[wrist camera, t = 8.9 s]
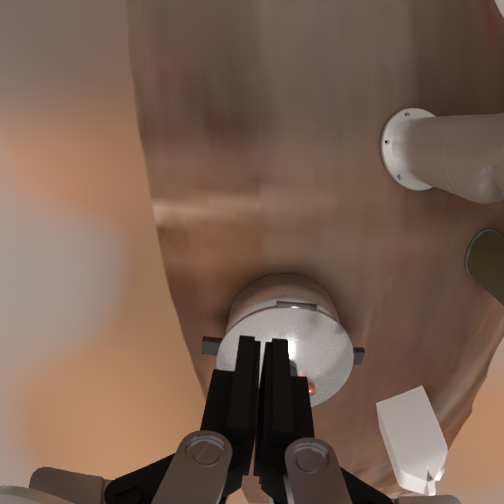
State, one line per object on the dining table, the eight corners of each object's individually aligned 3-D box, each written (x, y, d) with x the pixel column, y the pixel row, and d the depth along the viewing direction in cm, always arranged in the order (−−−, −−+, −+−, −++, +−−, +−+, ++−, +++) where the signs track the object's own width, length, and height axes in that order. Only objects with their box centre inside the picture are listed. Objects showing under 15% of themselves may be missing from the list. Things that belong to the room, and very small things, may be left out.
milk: (375, 403, 58) (404, 500, 33) (422, 385, 56) (462, 475, 32) (379, 429, 62) (402, 514, 37) (421, 413, 60) (452, 494, 35)
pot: (362, 279, 47) (382, 312, 38) (338, 364, 54) (348, 402, 44) (213, 266, 48) (200, 297, 38) (211, 354, 54) (201, 393, 45)
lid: (367, 305, 37) (374, 317, 34) (334, 409, 43) (337, 422, 40) (220, 293, 38) (216, 304, 35) (216, 402, 44) (213, 415, 41)
